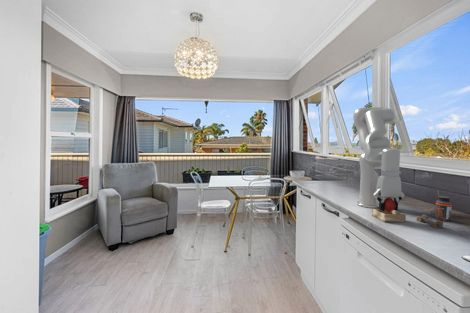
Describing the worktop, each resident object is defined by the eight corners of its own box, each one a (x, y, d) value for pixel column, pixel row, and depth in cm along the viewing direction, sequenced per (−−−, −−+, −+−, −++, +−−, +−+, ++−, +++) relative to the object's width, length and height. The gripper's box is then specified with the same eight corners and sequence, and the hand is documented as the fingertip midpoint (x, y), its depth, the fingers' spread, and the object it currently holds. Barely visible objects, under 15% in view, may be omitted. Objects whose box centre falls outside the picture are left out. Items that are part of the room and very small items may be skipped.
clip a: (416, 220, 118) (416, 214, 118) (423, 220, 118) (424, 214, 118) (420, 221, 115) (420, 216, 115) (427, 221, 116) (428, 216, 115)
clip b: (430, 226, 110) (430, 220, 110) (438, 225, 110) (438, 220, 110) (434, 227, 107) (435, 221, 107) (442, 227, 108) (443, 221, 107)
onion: (382, 209, 124) (383, 194, 124) (396, 212, 120) (396, 196, 120) (380, 212, 120) (381, 196, 119) (394, 214, 116) (395, 198, 115)
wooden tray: (371, 215, 125) (372, 209, 125) (391, 215, 125) (391, 208, 125) (384, 222, 115) (385, 214, 115) (405, 222, 115) (405, 214, 115)
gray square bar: (417, 218, 119) (417, 216, 119) (420, 218, 119) (420, 216, 119) (439, 227, 107) (439, 224, 107) (441, 227, 107) (442, 224, 107)
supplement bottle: (431, 218, 121) (433, 195, 120) (439, 217, 123) (440, 195, 122) (445, 222, 115) (447, 198, 115) (453, 220, 117) (455, 197, 117)
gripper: (401, 172, 123) (399, 207, 124) (368, 172, 122) (366, 208, 124) (412, 174, 115) (411, 212, 117) (377, 175, 115) (375, 212, 116)
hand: (388, 209), depth 120 cm, fingers closed on onion, 5 cm apart
